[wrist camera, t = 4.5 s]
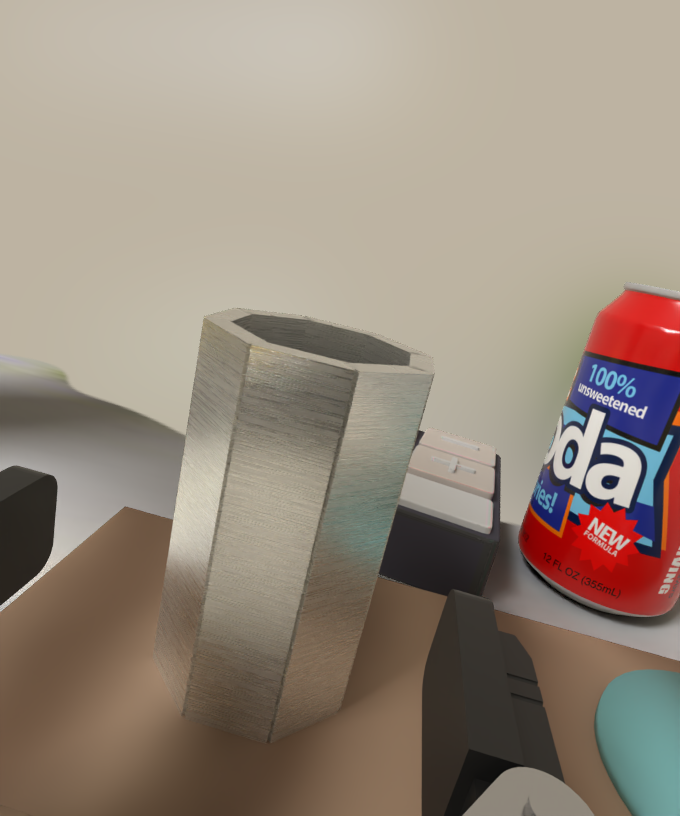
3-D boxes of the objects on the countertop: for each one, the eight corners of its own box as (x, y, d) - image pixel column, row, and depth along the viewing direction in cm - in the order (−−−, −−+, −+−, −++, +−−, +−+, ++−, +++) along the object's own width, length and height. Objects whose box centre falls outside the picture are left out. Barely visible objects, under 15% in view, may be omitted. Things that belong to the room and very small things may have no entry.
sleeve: (134, 620, 17) (177, 301, 14) (286, 582, 21) (345, 320, 18) (208, 770, 13) (289, 368, 10) (382, 693, 17) (479, 376, 14)
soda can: (705, 639, 26) (860, 330, 22) (556, 624, 25) (691, 288, 20) (608, 547, 34) (710, 302, 29) (489, 530, 32) (578, 270, 28)
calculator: (504, 444, 38) (506, 527, 24) (486, 502, 39) (476, 614, 25) (352, 398, 40) (270, 448, 26) (338, 453, 41) (252, 530, 27)
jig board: (-160, 802, 12) (-180, 449, 10) (121, 537, 24) (144, 344, 21) (1340, 1304, 10) (1801, 1011, 8) (850, 744, 21) (970, 555, 19)
